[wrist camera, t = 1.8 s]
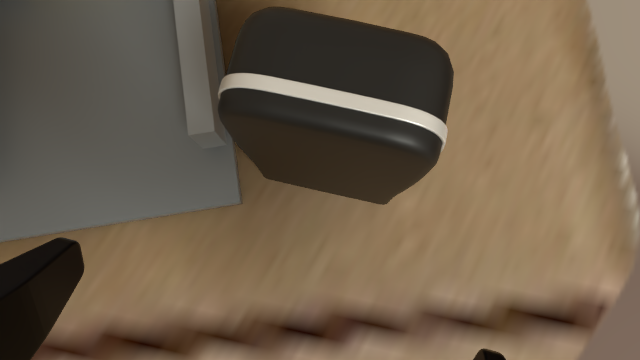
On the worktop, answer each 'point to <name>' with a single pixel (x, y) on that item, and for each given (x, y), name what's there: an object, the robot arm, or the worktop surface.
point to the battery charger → (336, 102)
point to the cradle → (110, 114)
